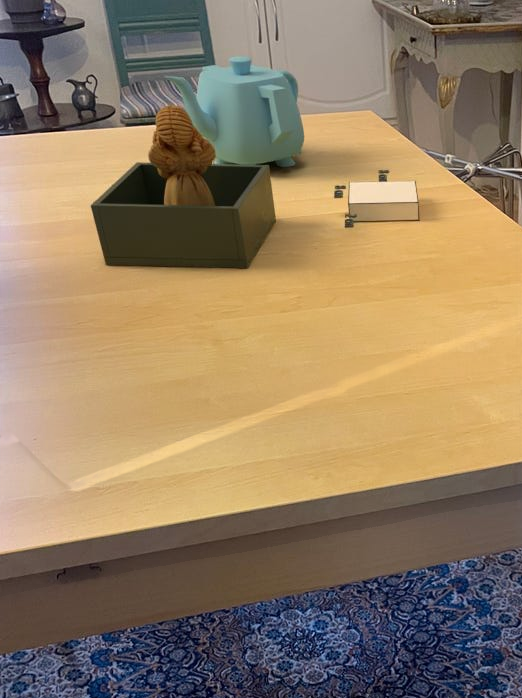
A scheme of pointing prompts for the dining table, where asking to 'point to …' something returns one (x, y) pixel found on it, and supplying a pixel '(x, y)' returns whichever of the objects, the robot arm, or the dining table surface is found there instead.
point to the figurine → (181, 158)
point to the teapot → (246, 112)
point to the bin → (185, 219)
